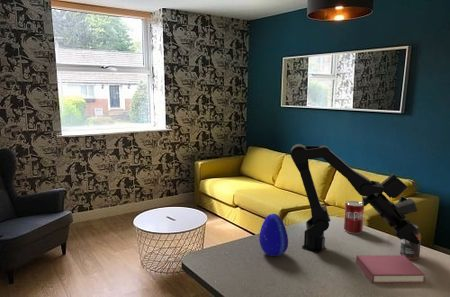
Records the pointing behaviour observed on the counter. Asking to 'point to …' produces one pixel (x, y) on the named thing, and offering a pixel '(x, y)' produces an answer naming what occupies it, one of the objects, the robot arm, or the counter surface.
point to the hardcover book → (389, 269)
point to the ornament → (273, 236)
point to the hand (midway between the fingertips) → (415, 239)
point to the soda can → (353, 217)
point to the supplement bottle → (411, 247)
